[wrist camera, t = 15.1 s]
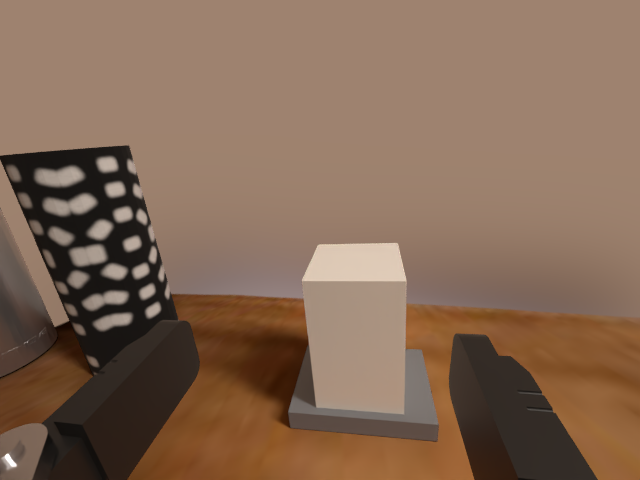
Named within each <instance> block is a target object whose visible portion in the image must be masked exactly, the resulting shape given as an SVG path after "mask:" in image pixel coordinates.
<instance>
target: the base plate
mask: <svg viewBox="0 0 640 480" xmlns="http://www.w3.org/2000/svg"><path fill="white" fill-rule="evenodd" d="M288 415H289V422H290V428H297V429H308V430H319V431H330V432H341V433H352V434H362V435H373V436H384V437H395V438H406V439H416V440H427V441H438V428H439V424H438V420H437V415H436V411H435V406H434V402H433V398H432V393H431V389H430V384H429V380H428V376H427V371H426V367H425V363H424V358H423V354H422V350H414V349H405V394H404V414H393V413H381V412H368V411H355V410H343V409H330V408H317V407H316V401H315V392H314V384H313V375H312V366H311V357H310V349H309V345H308V346H307V349H306V353H305V356H304V359H303V363H302V366H301V370H300V373H299V376H298V380H297V383H296V387H295V390H294V394H293V397H292V400H291V404H290V407H289V411H288Z"/></svg>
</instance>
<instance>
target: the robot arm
mask: <svg viewBox="0 0 640 480" xmlns="http://www.w3.org/2000/svg"><path fill="white" fill-rule="evenodd" d="M57 336H58V335H57V332H56V330H55V327H54V325H53V323H52V321H51V318H50V316H49V314H48V312H47V310H46V307H45V305H44V303H43V300H42V298H41V296H40V294H39V292H38V289H37V287H36V285H35V283H34V281H33V279H32V276H31V274H30V272H29V269H28V267H27V265H26V263H25V261H24V258H23V256H22V254H21V252H20V250H19V247H18V245H17V243H16V241H15V239H14V236H13V234H12V232H11V230H10V228H9V226H8V223H7V221H6V219H5V217H4V215H3V213H2V210H1V208H0V377H2V376H4V375H6V374H8V373H11V372H13V371H15V370H17V369H19V368H21V367H22V366H24V365H26V364H28V363H29V362H31V361H33V360H34V359H36V358H37V357H39V356H40V355H41V354H43V353H44V352H45V351H47V350H48V349H49V348H50V347H51V346H52V345H53V344H54V342H55V341H56V339H57ZM199 364H200V361H199V356H198V352H197V348H196V344H195V341H194V337H193V333H192V329H191V326H190V324H189V323H188V322H187V321H178V320H162V321H160V322H158V323H157V324H156V325H155V326H154V327H153V328H152V329H151V330H150V331H149V332H148V333H147V334H145V335H144V336H142V337H141V338H139V339H137V340H136V341H134V342H132V343H131V344H129V345H128V346H126V347H125V348H124V349H123V350H122V351H120V352H119V353H118V354H117V355H116V356H115V357H114V358H113V359H112V360H111V363H107V364H106V365H105V366H104V367H103V368H102V369H101V370H100V371H99V374H95V375H94V376H93V377H92V378H91V379H90V380H89V381H88V382H87V383H86V384H85V385H83V386H82V387H81V388H80V389H79V390H78V391H77V392H76V393H75V394H74V395H73V396H71V397H70V398H69V399H68V400H67V401H66V402H65V403H64V404H63V405H62V406H61V407H59V408H58V409H57V410H56V411H55V412H54V413H53V414H52V415H51V416H50V417H49V418H47V419H46V420H45V421H44V422H43V423H42V424H38V423H33V424H27V425H23V426H20V427H17V428H14V429H12V430H9V431H7V432H5V433H3V434H1V435H0V480H127V478H128V477H129V475H130V474H131V473H132V471H133V470H134V468H135V467H136V465H137V464H138V462H139V461H140V459H141V458H142V456H143V455H144V453H145V452H146V451H147V449H148V448H149V446H150V445H151V443H152V442H153V440H154V439H155V437H156V436H157V434H158V433H159V431H160V430H161V429H162V427H163V426H164V424H165V423H166V421H167V420H168V418H169V417H170V415H171V414H172V412H173V411H174V409H175V408H176V407H177V405H178V404H179V402H180V401H181V399H182V398H183V396H184V395H185V393H186V392H187V390H188V389H189V387H190V386H191V385H192V383H193V382H194V380H195V378H196V376H197V374H198V371H199ZM449 388H450V396H451V400H452V404H453V407H454V411H455V414H456V418H457V421H458V425H459V428H460V431H461V435H462V438H463V442H464V445H465V449H466V452H467V455H468V459H469V462H470V466H471V469H472V473H473V476H474V479H475V480H598V479H597V478H596V476H595V475H594V473H593V471H592V470H591V468H590V467H589V465H588V464H587V462H586V460H585V459H584V457H583V456H582V454H581V453H580V451H579V449H578V448H577V446H576V445H575V443H574V442H573V440H572V438H571V437H570V435H569V434H568V432H567V431H566V429H565V427H564V426H563V424H562V423H561V421H560V420H559V418H558V416H557V415H556V413H553V410H552V407H551V405H550V404H549V402H548V401H547V399H546V398H545V396H543V395H542V391H541V390H540V388H539V387H538V385H537V383H536V382H535V380H534V379H533V377H532V376H531V374H530V373H529V372H528V371H527V370H526V369H525V368H524V367H522V366H521V365H520V364H519V363H518V362H517V361H515V360H514V359H513V358H512V357H511V356H498V354H497V352H496V351H495V349H494V347H493V345H492V343H491V341H490V340H489V338H488V337H487V336H486V335H478V334H455V335H454V339H453V347H452V356H451V364H450V373H449Z"/></svg>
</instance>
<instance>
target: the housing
mask: <svg viewBox="0 0 640 480" xmlns="http://www.w3.org/2000/svg"><path fill="white" fill-rule="evenodd" d="M406 283H407V282H406V277H405V273H404V268H403V264H402V260H401V255H400V251H399V247H398V243H381V244H380V243H377V244H330V245H329V244H326V245H318V247H317V249H316V251H315V253H314V255H313V258H312V260H311V262H310V264H309V266H308V269H307V271H306V273H305V276H304V277H303V280H302V287H303V296H304V305H305V314H306V322H307V331H308V340H309V349H310V357H311V366H312V375H313V384H314V392H315V401H316V407H317V408H330V409H343V410H355V411H368V412H381V413H393V414H404V394H405V339H406Z"/></svg>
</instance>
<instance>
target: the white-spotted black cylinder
mask: <svg viewBox="0 0 640 480" xmlns="http://www.w3.org/2000/svg"><path fill="white" fill-rule="evenodd" d="M0 160H1V162H2V165H3V167H4V169H5V172H6V174H7V176H8V178H9V181H10V183H11V185H12V188H13V190H14V193H15V195H16V197H17V199H18V202H19V204H20V206H21V209H22V211H23V214H24V216H25V218H26V220H27V223H28V225H29V228H30V230H31V232H32V234H33V237H34V239H35V241H36V244H37V246H38V248H39V251H40V253H41V255H42V258H43V260H44V262H45V264H46V267H47V269H48V272H49V274H50V276H51V279H52V281H53V283H54V285H55V288H56V290H57V293H58V295H59V297H60V299H61V302H62V304H63V307H64V309H65V311H66V314H67V316H68V318H69V321H70V323H71V325H72V328H73V330H74V332H75V335H76V337H77V339H78V341H79V344H80V346H81V348H82V351H83V353H84V355H85V358H86V360H87V362H88V365H89V367H90V369H91V372H92V374H93V375H95V374H99V371H100V370H101V369H102V368H103V367H104V366H105V365H106V364H107V363H111V360H112V359H113V358H114V357H115V356H116V355H117V354H118V353H119V352H120V351H122V350H123V349H124V348H125V347H126V346H128V345H129V344H131V343H132V342H134V341H136V340H137V339H139V338H141V337H142V336H144V335H145V334H147V333H148V332H149V331H150V330H151V329H152V328H153V327H154V326H155V325H156V324H157V323H158V322H160V321H162V320H178V316H177V313H176V309H175V306H174V302H173V299H172V295H171V292H170V288H169V285H168V281H167V278H166V274H165V271H164V267H163V264H162V260H161V257H160V253H159V250H158V246H157V243H156V239H155V236H154V232H153V229H152V225H151V221H150V218H149V215H148V211H147V207H146V204H145V200H144V197H143V193H142V190H141V186H140V183H139V179H138V176H137V172H136V169H135V165H134V162H133V158H132V155H131V151H130V148H129V146H113V147H99V148H85V149H73V150H60V151H48V152H36V153H25V154H13V155H3V156H0ZM178 321H179V320H178Z"/></svg>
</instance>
